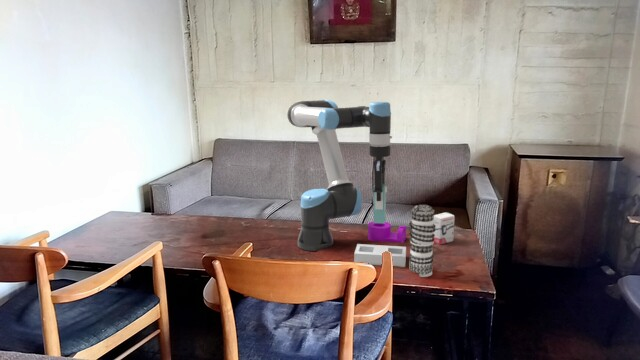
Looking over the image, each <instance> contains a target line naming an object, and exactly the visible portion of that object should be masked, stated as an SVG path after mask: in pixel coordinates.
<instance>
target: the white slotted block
mask: <svg viewBox="0 0 640 360" xmlns="http://www.w3.org/2000/svg"><path fill="white" fill-rule="evenodd" d="M385 251H389V252H391V254H392V259H393V266H392V267H399V268H400V267H401V268H405V267H406V261H407V260H406V259H407V258H406V257H407V246H400V245H398V246H397V245H382V244H381V245H379V244H378V245H377V244H364V243H363V244H362V243H357V244H356V247H355V250H354V254H353V255H354V256H353V258H354V259H353V262H363V263H369V264H368V265H370V264H372V266H382V265H381V264H382V253H383V252H385Z"/></svg>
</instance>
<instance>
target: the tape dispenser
mask: <svg viewBox="0 0 640 360" xmlns="http://www.w3.org/2000/svg"><path fill="white" fill-rule="evenodd" d="M391 229H392V227H391V223H390V222H387V221H385V223H384V224H382V223H374V221H370V222H368V223H367V239H368V240H369V241H371V242H384V243H386V242H387V243H404V242H405V240H406V239H407V226H406V225H400V226H399V227H398V229H397V231H396V232H393V231H392V230H391Z"/></svg>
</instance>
